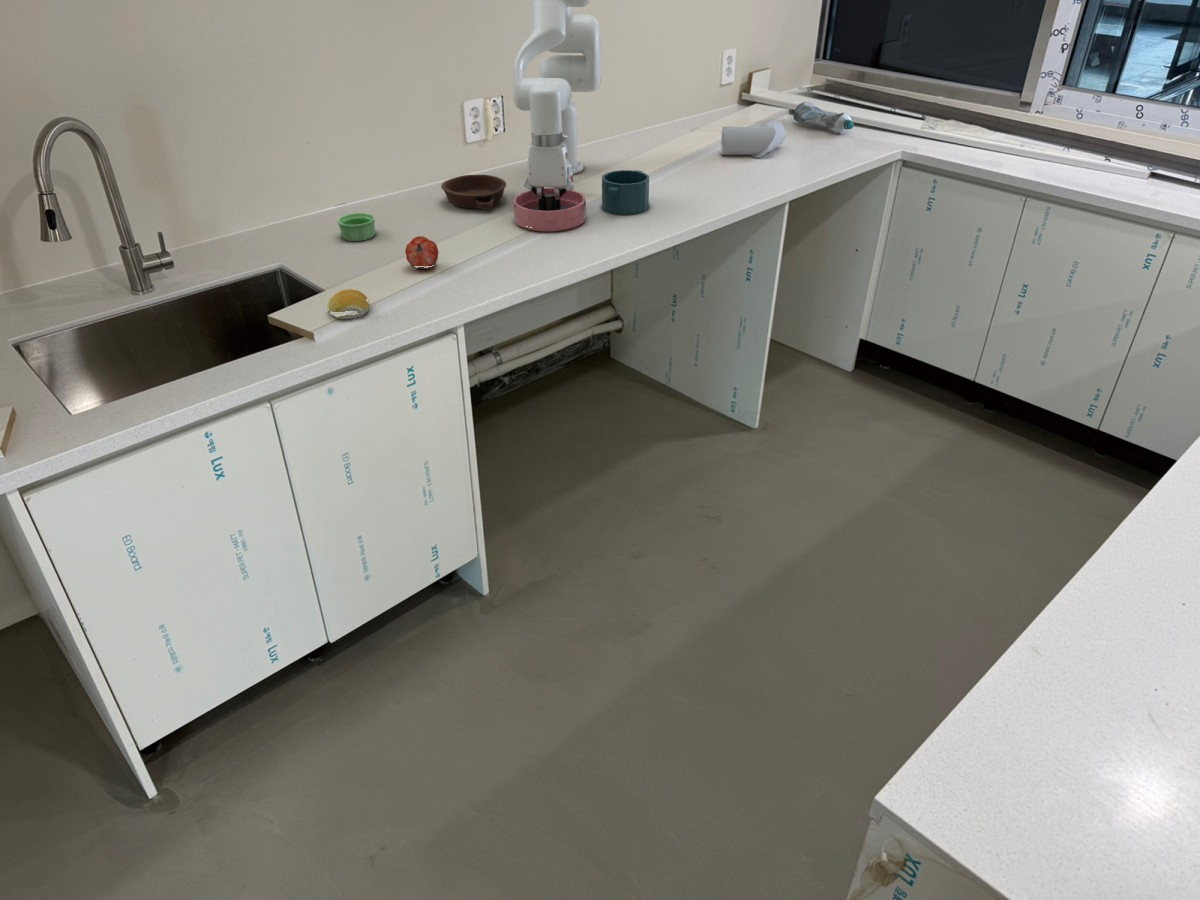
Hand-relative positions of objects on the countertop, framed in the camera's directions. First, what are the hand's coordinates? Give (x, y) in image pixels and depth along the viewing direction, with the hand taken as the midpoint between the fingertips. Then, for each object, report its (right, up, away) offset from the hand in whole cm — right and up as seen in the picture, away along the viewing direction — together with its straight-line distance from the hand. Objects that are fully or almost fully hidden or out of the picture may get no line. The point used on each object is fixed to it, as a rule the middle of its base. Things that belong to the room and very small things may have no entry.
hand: (550, 212), depth 217 cm
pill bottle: (+3, +9, +17) cm, 20 cm away
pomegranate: (-28, -19, -23) cm, 41 cm away
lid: (0, -1, 0) cm, 1 cm away
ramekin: (-47, -8, -7) cm, 48 cm away
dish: (-21, +7, +14) cm, 26 cm away
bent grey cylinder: (+60, +33, +51) cm, 85 cm away
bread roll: (-39, -33, -42) cm, 66 cm away
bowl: (0, -2, +1) cm, 2 cm away
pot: (+20, +4, +9) cm, 22 cm away
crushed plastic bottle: (+90, +50, +74) cm, 127 cm away
